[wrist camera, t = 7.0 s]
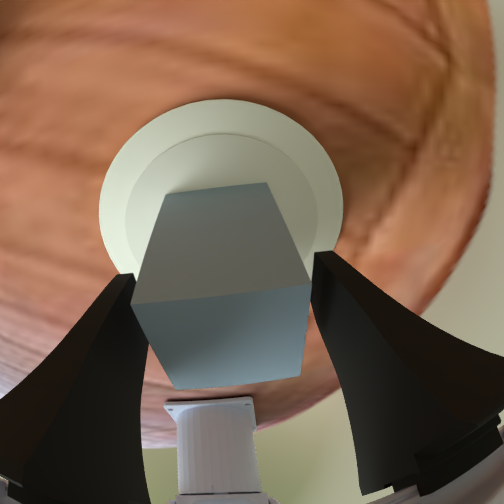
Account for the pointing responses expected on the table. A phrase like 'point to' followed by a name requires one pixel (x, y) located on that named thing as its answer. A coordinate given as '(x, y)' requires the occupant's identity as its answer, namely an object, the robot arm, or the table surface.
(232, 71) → the table surface
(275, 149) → the dish
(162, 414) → the table surface
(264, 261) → the block
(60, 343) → the robot arm
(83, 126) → the table surface
